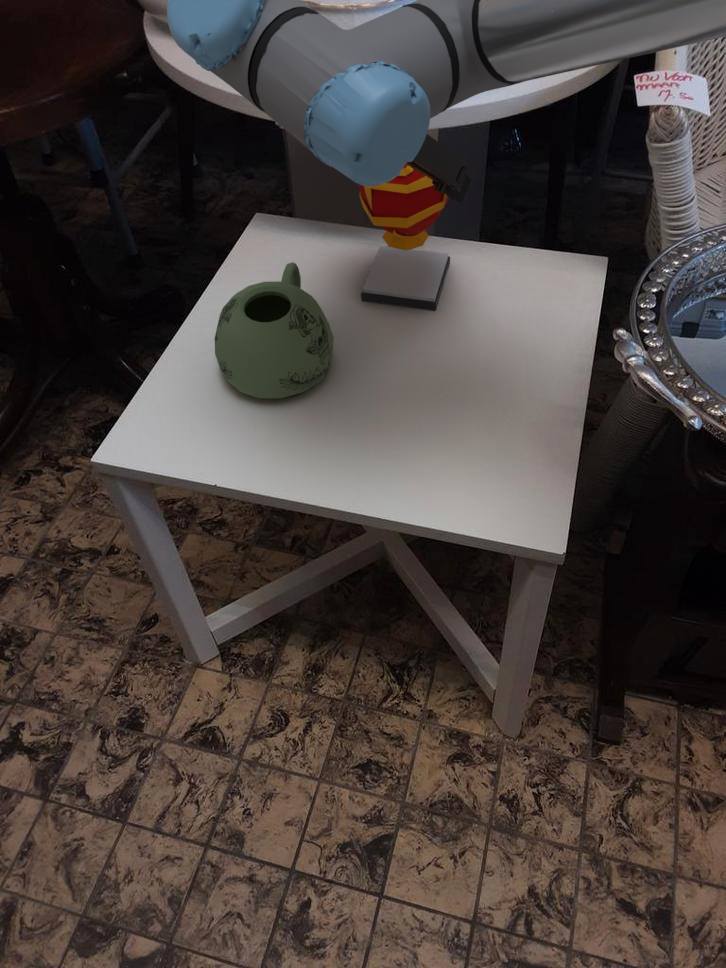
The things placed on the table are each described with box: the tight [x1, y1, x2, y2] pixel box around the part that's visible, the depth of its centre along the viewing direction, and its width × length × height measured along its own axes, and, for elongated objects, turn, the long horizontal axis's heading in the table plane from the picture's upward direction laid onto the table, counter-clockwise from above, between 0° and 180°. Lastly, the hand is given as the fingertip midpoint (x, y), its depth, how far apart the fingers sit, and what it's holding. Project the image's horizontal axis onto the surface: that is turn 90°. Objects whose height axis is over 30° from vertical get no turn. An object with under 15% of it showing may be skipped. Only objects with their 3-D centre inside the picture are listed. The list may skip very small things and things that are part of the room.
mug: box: [214, 261, 334, 399], centre depth 83 cm, size 16×13×9 cm
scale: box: [360, 245, 451, 312], centre depth 93 cm, size 9×9×2 cm
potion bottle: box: [358, 164, 450, 251], centre depth 82 cm, size 10×10×15 cm
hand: (422, 175), depth 85 cm, fingers closed on potion bottle, 10 cm apart
